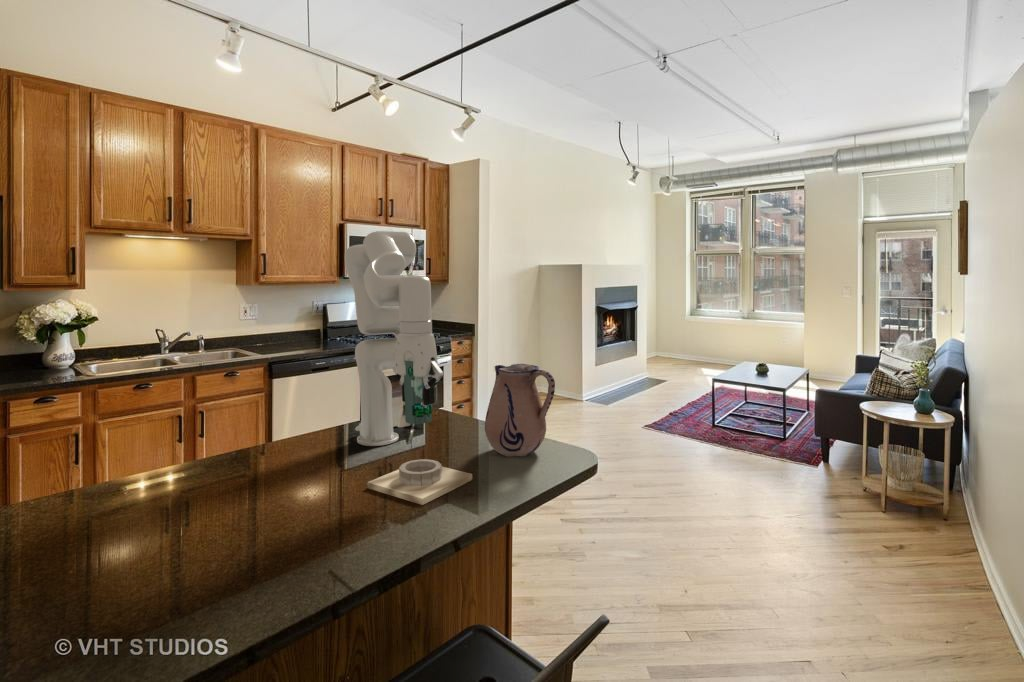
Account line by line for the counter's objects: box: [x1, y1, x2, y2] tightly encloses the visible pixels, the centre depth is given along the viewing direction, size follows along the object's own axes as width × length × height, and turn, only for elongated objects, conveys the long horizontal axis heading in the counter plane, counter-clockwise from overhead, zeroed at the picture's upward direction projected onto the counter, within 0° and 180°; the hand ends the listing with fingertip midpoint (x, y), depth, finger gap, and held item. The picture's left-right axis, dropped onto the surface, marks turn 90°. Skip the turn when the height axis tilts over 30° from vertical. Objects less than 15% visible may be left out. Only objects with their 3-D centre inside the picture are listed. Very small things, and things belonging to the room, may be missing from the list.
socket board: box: [367, 458, 473, 506], centre depth 136 cm, size 18×18×4 cm
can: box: [404, 360, 433, 425], centre depth 133 cm, size 6×6×15 cm
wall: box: [392, 396, 412, 428], centre depth 194 cm, size 16×9×15 cm
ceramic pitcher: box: [484, 363, 556, 457], centre depth 158 cm, size 18×21×25 cm
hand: (418, 401), depth 134 cm, fingers closed on can, 6 cm apart
